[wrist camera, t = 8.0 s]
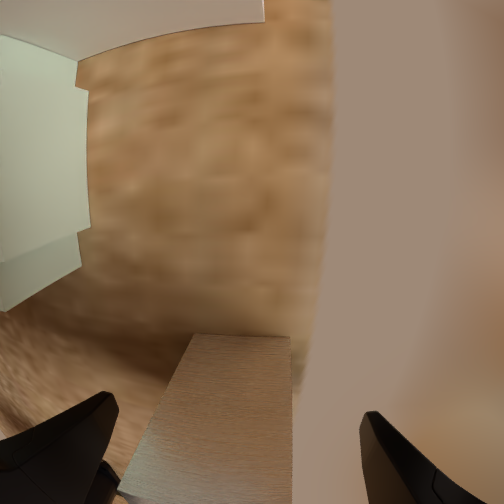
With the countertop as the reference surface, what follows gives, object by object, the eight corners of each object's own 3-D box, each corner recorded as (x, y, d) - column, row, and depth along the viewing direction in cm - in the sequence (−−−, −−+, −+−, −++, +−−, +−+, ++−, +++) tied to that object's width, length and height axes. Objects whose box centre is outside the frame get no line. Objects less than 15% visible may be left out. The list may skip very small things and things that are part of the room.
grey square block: (285, 403, 11) (279, 550, 4) (204, 398, 11) (159, 533, 5) (289, 337, 10) (291, 519, 3) (194, 333, 10) (117, 489, 4)
